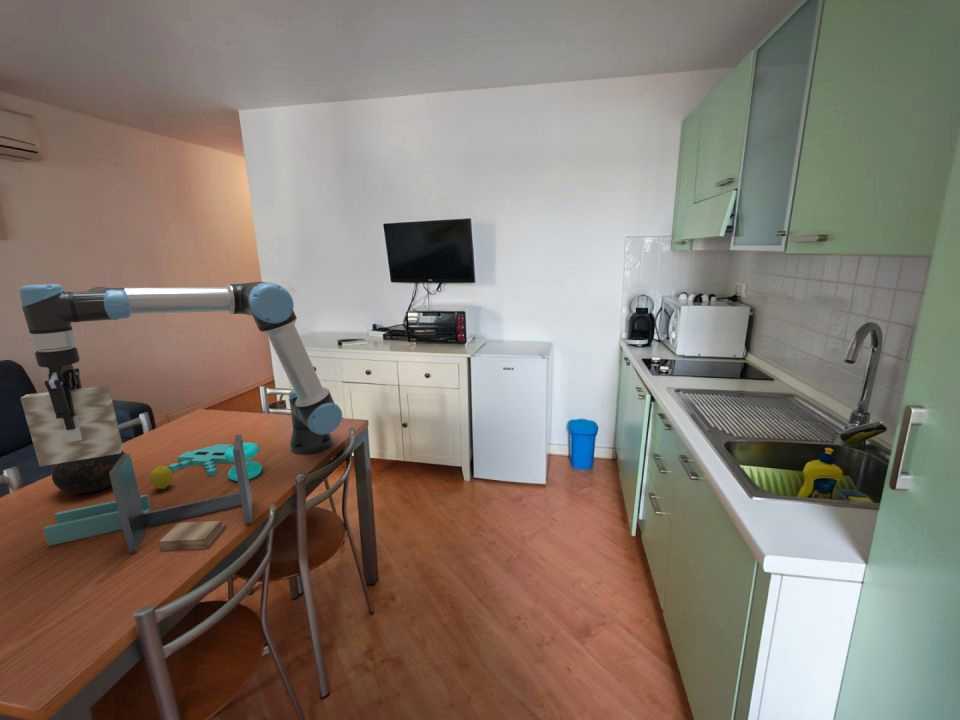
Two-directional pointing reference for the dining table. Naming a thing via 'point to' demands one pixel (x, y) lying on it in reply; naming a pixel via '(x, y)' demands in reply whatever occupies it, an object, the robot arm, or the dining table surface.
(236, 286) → the robot arm
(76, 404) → the birch sheet
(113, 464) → the glass bottle
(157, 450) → the dining table surface
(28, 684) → the dining table surface
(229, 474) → the turquoise spool
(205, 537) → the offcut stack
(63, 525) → the teal open channel
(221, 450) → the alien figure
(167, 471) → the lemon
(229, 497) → the rack
